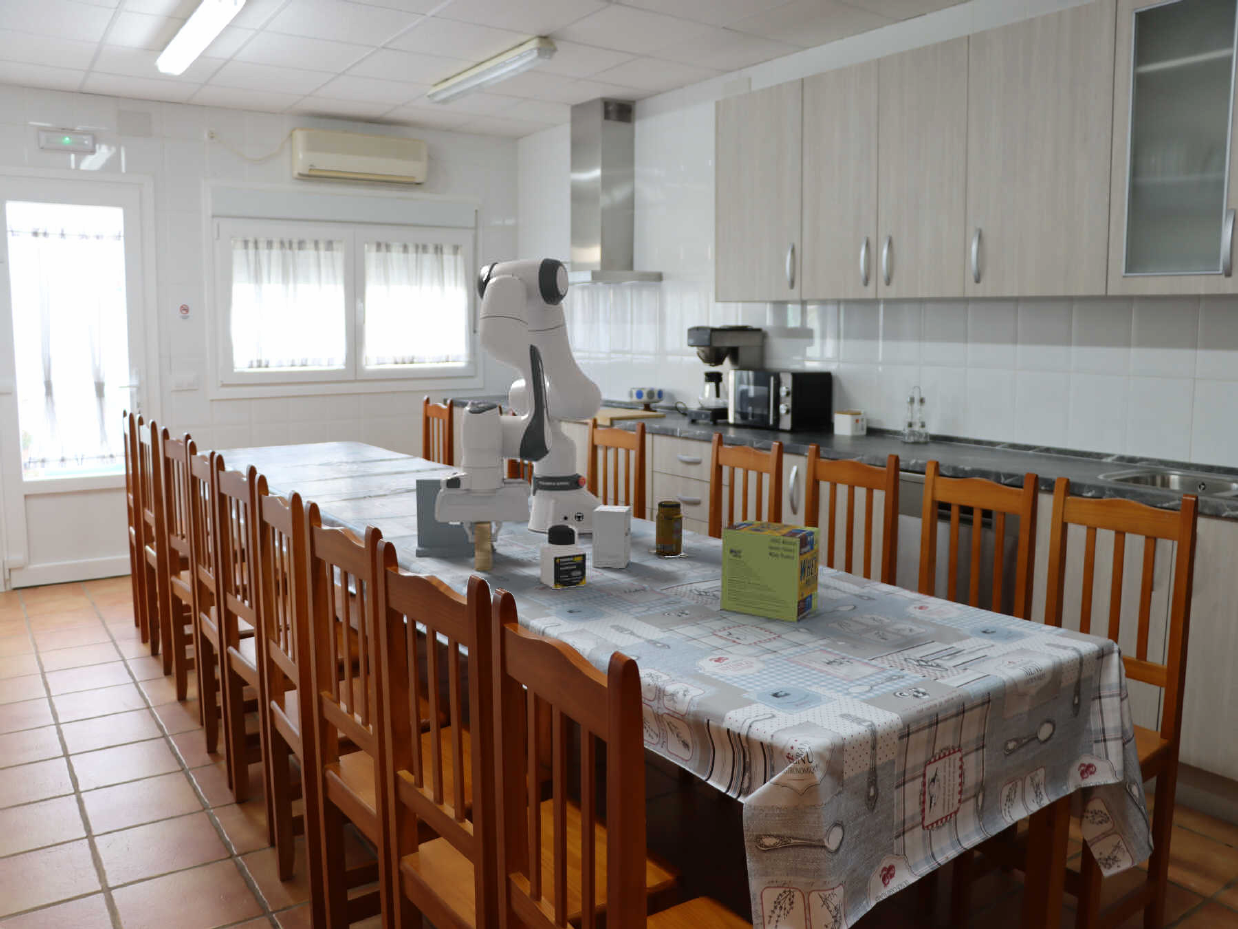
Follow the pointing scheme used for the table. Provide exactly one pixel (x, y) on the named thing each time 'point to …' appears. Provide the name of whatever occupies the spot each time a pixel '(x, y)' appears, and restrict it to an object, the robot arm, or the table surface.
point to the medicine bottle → (563, 558)
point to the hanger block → (483, 546)
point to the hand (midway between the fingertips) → (483, 541)
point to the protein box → (770, 569)
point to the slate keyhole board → (438, 526)
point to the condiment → (668, 530)
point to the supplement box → (611, 536)
